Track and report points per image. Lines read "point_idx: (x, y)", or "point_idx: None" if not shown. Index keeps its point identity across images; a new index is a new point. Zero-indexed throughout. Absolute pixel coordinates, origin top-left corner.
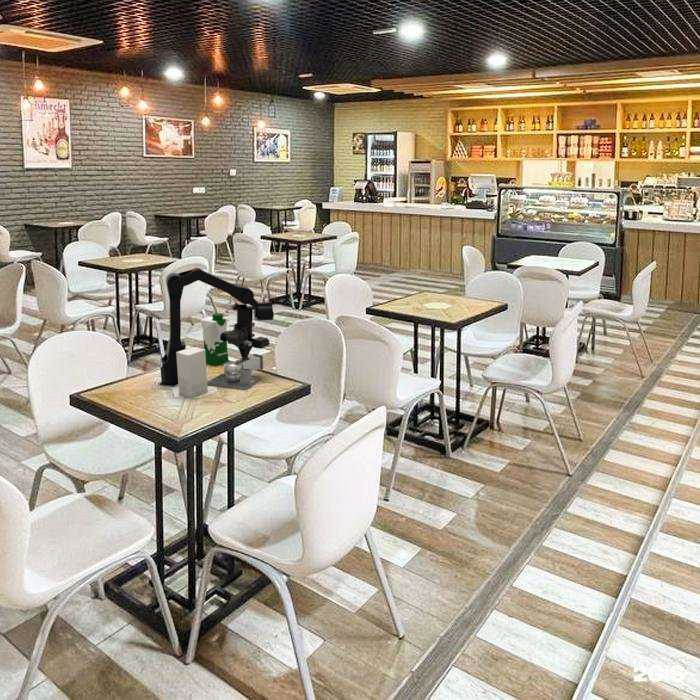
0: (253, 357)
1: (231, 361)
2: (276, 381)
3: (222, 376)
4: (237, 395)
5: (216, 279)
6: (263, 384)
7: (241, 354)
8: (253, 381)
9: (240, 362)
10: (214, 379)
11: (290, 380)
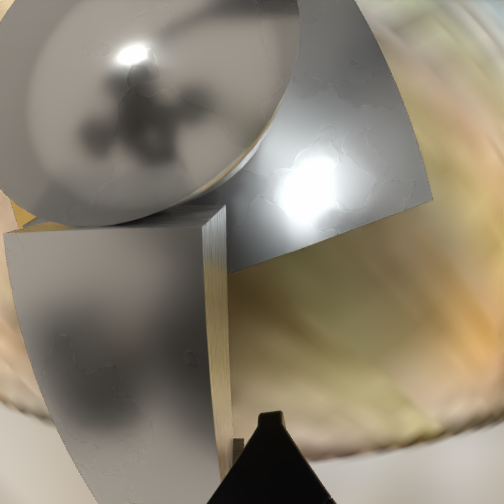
0: (129, 496)
1: (253, 114)
2: (16, 357)
3: (367, 131)
4: (3, 15)
5: None
6: (6, 262)
7: (298, 486)
8: (13, 208)
9: (39, 205)
10: (346, 28)
11: (5, 401)
